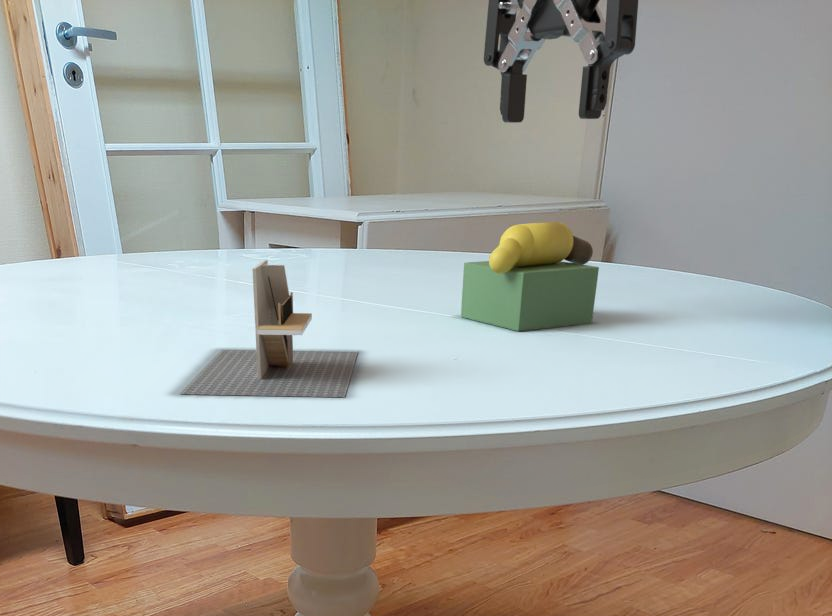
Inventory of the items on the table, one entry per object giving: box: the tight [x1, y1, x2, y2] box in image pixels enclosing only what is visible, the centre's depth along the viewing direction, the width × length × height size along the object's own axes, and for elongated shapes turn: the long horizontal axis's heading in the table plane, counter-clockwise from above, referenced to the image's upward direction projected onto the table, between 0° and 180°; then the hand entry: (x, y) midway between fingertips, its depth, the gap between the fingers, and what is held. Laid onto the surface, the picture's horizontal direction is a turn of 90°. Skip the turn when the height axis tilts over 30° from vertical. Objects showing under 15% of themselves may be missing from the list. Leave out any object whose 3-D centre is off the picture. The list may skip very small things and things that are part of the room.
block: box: [460, 260, 600, 332], centre depth 85 cm, size 9×9×5 cm
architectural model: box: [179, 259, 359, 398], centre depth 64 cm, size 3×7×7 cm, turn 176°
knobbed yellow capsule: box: [488, 221, 594, 274], centre depth 83 cm, size 14×4×4 cm
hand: (549, 120), depth 78 cm, fingers open, 8 cm apart
